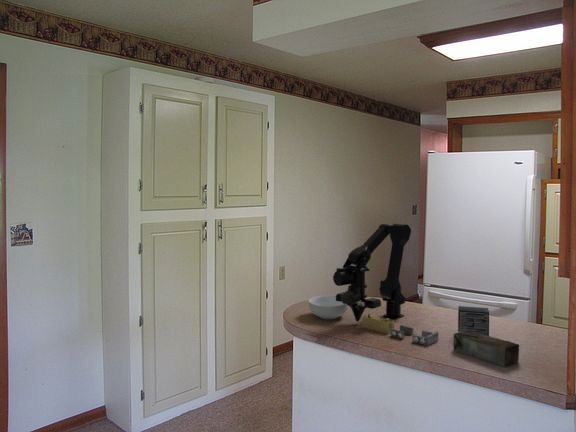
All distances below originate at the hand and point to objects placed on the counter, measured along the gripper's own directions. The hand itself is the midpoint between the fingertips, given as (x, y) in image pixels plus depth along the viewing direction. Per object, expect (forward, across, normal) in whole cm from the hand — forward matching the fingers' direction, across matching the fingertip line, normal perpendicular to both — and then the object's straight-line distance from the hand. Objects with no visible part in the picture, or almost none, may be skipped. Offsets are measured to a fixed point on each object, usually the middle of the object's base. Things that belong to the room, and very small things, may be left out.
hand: (357, 321), depth 188 cm
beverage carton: (+2, +51, +1) cm, 51 cm away
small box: (+2, +40, +17) cm, 43 cm away
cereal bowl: (+2, -15, 0) cm, 15 cm away
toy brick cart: (+1, +25, 0) cm, 25 cm away
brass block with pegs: (+1, +10, 0) cm, 10 cm away
